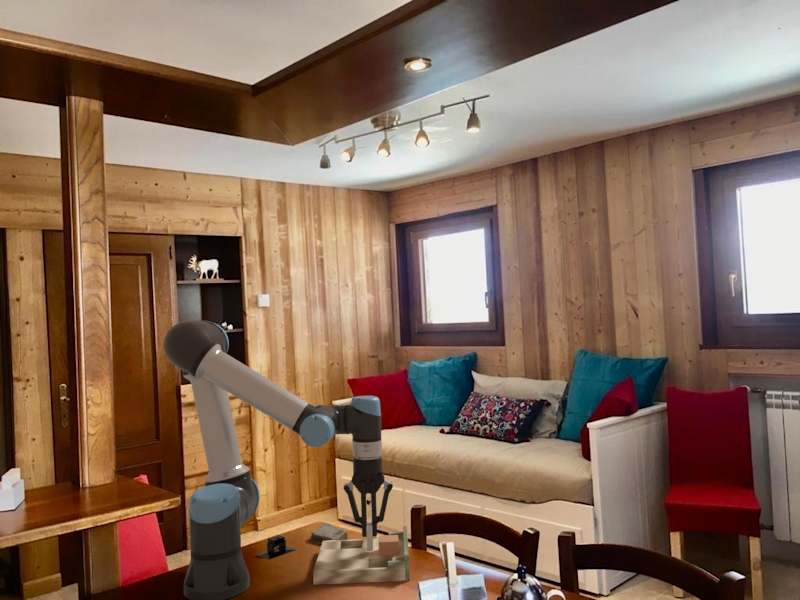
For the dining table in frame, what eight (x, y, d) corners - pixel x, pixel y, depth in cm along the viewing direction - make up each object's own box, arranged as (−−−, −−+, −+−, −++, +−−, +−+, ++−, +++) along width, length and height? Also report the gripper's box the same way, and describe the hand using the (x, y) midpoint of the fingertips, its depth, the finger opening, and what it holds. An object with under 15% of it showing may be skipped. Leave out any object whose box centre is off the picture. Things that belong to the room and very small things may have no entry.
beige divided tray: (313, 584, 156) (312, 559, 157) (323, 551, 178) (322, 529, 179) (409, 580, 157) (408, 555, 157) (407, 548, 179) (406, 526, 179)
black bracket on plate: (265, 564, 172) (265, 546, 173) (249, 558, 177) (249, 541, 177) (302, 550, 182) (302, 534, 182) (286, 545, 186) (286, 529, 187)
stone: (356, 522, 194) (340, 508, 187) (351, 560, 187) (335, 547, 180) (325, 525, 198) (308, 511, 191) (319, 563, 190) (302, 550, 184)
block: (379, 556, 165) (378, 542, 165) (379, 549, 170) (378, 535, 170) (398, 555, 165) (398, 541, 165) (398, 548, 170) (398, 534, 170)
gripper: (341, 460, 165) (343, 555, 164) (392, 459, 165) (395, 553, 164) (343, 454, 172) (345, 545, 171) (392, 452, 172) (395, 543, 172)
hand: (370, 549), depth 168 cm, fingers closed
